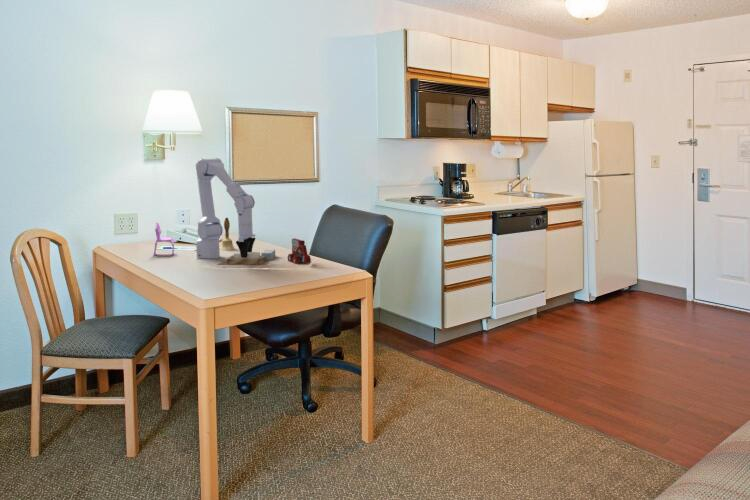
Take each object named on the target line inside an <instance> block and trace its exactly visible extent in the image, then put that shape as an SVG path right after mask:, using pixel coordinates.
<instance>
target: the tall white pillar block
mask: <svg viewBox="0 0 750 500" xmlns="http://www.w3.org/2000/svg"><path fill="white" fill-rule="evenodd" d="M260 252H261V251H260ZM260 252H258V251H252V252H248V254H247V258H242V257H241V254H240V251H236V252H234V253H233V255H234V259H259V258H260V256H261V253H260Z"/></svg>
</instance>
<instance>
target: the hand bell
mask: <svg viewBox="0 0 750 500" xmlns="http://www.w3.org/2000/svg"><path fill="white" fill-rule="evenodd" d="M230 225H231V224H230V220H229V217H225V219H224V223H223V228H224V231H225V234H224V235H225V237H224V239H222V242H221V246H220V247H219V250H220V251H221V252H222V251H225V252H227V251H228V252H229V251H235V250H236V248H235V246H234V243H233V240H232V239H231V238H230V234H229V233H230V232H229V231H230Z"/></svg>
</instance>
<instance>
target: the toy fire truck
mask: <svg viewBox="0 0 750 500" xmlns="http://www.w3.org/2000/svg"><path fill="white" fill-rule="evenodd" d="M305 243H306V241H305V240H303V239H302V240H301V239H298V238H292V239H291V246H292V247H291V253H289V254H287V261H288V262H290V263H293V264H294V265H299V264H302V263H304V264H305V263H307V264H311V259H312V258H311V256H310V255H309V253H308V250H307V245H306V244H305Z"/></svg>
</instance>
